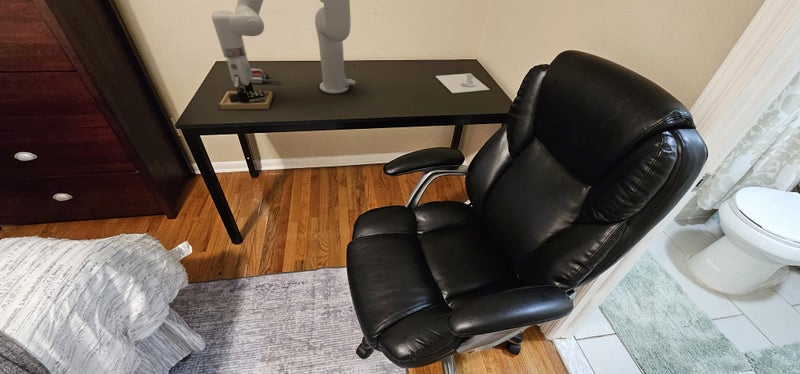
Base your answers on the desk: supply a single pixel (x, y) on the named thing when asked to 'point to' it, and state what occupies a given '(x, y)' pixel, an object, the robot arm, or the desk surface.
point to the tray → (251, 105)
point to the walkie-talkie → (260, 76)
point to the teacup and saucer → (461, 83)
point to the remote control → (252, 97)
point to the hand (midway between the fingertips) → (247, 97)
